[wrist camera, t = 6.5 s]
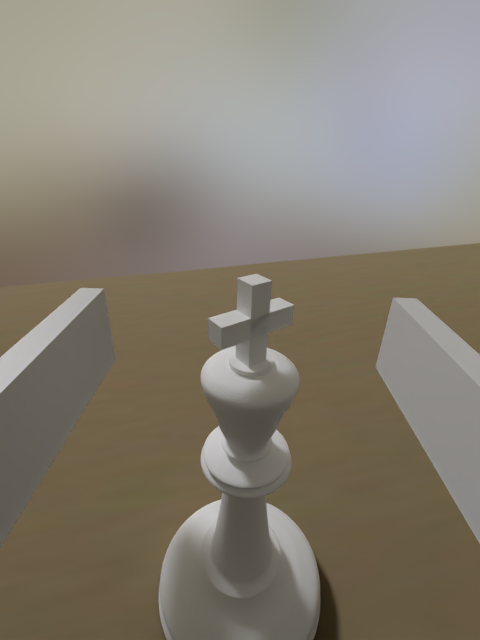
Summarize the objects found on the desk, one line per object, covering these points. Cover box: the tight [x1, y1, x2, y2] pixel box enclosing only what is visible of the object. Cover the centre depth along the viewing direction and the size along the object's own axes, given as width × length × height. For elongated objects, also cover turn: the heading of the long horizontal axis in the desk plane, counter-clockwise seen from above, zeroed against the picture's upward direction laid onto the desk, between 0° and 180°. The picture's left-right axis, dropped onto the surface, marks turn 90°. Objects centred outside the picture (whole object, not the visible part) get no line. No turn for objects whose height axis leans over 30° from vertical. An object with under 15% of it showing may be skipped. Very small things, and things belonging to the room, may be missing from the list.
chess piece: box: [159, 274, 321, 640], centre depth 8 cm, size 5×5×10 cm
